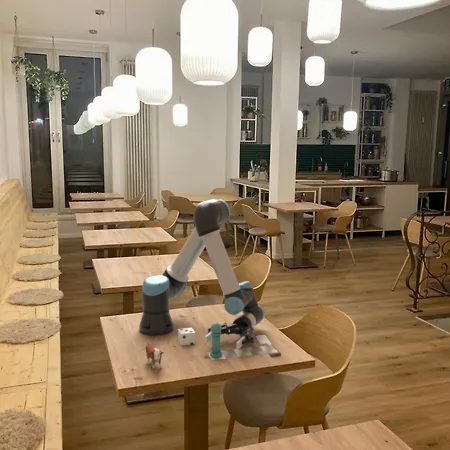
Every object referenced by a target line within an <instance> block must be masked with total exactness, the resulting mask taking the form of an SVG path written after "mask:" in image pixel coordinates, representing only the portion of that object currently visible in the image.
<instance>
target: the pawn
mask: <svg viewBox="0 0 450 450" xmlns="http://www.w3.org/2000/svg"><path fill="white" fill-rule="evenodd" d="M210 328H211V331H212V332H211V335H212V339H211V351H209V352H210V356H211V357H213V358H219V357H221V356H222V355H223V354H222V352H221V351H222V350H221V335H222V334H221V330H222V327H221V323H218V322H214V323H212V324H211V326H210ZM210 356H209V357H210Z"/></svg>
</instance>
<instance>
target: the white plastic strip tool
mask: <svg viewBox="0 0 450 450" xmlns="http://www.w3.org/2000/svg"><path fill="white" fill-rule="evenodd" d="M255 338H256V340H257V341H258V343H259V344H260V346H264V345H273V344H272V343H271V341H270V339H269V338H268V337H267V336H266V334H261V335H260V334H258V335H255Z"/></svg>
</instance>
